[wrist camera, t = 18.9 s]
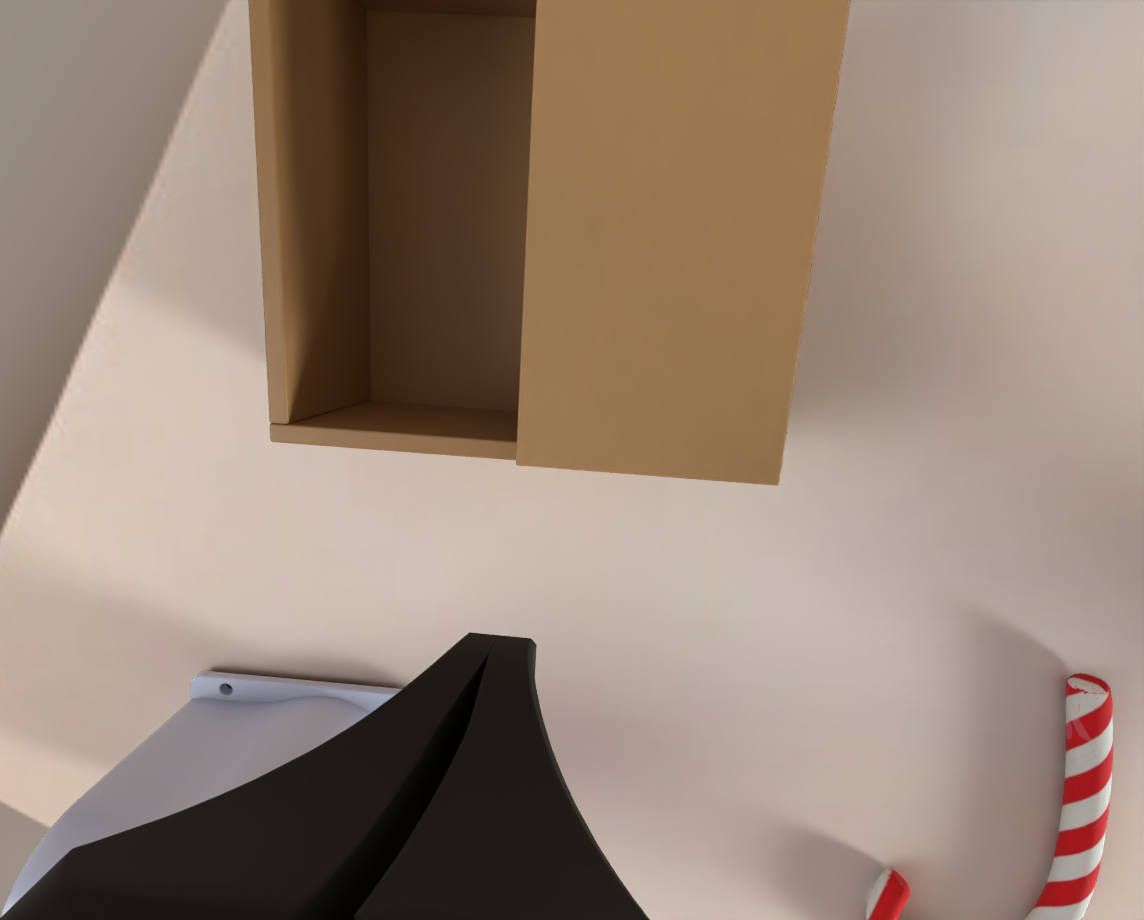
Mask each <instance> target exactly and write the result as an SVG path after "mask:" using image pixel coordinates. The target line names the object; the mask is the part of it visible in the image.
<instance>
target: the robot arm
mask: <svg viewBox="0 0 1144 920" xmlns="http://www.w3.org/2000/svg"><path fill="white" fill-rule="evenodd" d="M535 661H536V644H535V643H534V641H533V640H532V639H530V638H520V637H510V636H499V635H489V634H479V633H468V634H467V635H466V636H465V637H463V638H462V639H461V640H460V641H459V642H457V643H456V644H455V645H454V646H453V647H452V648H451V649H450V650H448V651H447V652H446V653H445V654H444V655H443V656H442V657H440V658H439V659H438V660H437V661H436V662H435V663H434V664H432V665H431V666H430V667H429V668H428V669H427V670H425V671H424V672H423V673H422V674H420V675H419V676H418V677H417V678H416V679H414V680H413V681H412V682H411V683H410V684H408V685H407V686H406V687H405V688H403V689H398V688H387V687H376V686H365V685H354V684H344V683H333V682H322V681H311V680H300V679H289V678H278V677H267V676H256V675H245V674H234V673H223V672H212V671H202V672H200V673H198V674H197V675H196V676H195V677H194V678H193V679H192V680H191V697H192V699H191V700H190V701H189V702H188V703H187V704H185V705H184V706H183V707H182V708H181V709H180V710H179V711H178V712H176V713H175V714H174V715H173V716H172V717H171V718H170V719H169V720H167V721H166V722H165V723H164V724H163V725H162V726H161V727H160V728H158V729H157V730H156V731H155V732H154V733H153V734H152V735H150V736H149V737H148V738H147V739H146V740H145V741H144V742H143V743H141V744H140V745H139V746H138V747H137V748H136V749H135V750H134V751H132V752H131V753H130V754H129V755H128V756H127V757H126V758H125V759H123V760H122V761H121V762H120V763H119V764H118V765H117V766H116V767H114V768H113V769H112V770H111V771H110V772H109V773H108V774H107V775H105V776H104V777H103V778H102V779H101V780H100V781H99V782H97V783H96V784H95V785H94V786H93V787H92V788H91V789H90V790H88V791H87V792H86V793H85V794H84V795H83V796H82V797H81V798H79V799H78V800H77V801H76V802H75V803H74V804H73V805H72V806H71V807H70V808H69V809H68V810H67V811H66V812H65V813H64V814H63V815H62V816H61V817H60V818H59V819H58V820H57V821H56V823H55V824H54V825H53V826H52V827H51V829H50V830H49V831H48V832H47V833H46V835H45V836H44V838H43V839H42V840H41V842H40V843H39V844H38V846H37V847H36V849H35V850H34V852H33V853H32V855H31V856H30V858H29V859H28V861H27V862H26V864H25V866H24V867H23V869H22V871H21V872H20V874H19V876H18V878H17V879H16V882H15V883H14V885H13V887H12V889H11V891H10V894H9V896H8V898H7V901H6V903H5V906H4V908H3V911H2V915H1V918H0V920H650V919H649V918H648V917H647V916H646V914H645V913H644V912H643V910H642V909H641V908H640V906H639V905H638V904H637V902H636V901H635V900H634V898H633V897H632V896H631V894H630V893H629V891H628V890H627V889H626V887H625V886H624V884H623V883H622V881H621V880H620V879H619V877H618V876H617V874H616V873H615V871H614V870H613V868H612V866H611V865H610V863H609V862H608V860H607V859H606V857H605V856H604V854H603V852H602V851H601V849H600V848H599V846H598V844H597V843H596V841H595V839H594V837H593V835H592V833H591V832H590V830H589V828H588V826H587V824H586V823H585V821H584V819H583V817H582V815H581V813H580V812H579V810H578V808H577V806H576V804H575V802H574V800H573V798H572V796H571V794H570V791H569V789H568V787H567V785H566V783H565V781H564V778H563V776H562V773H561V771H560V768H559V766H558V764H557V761H556V758H555V756H554V753H553V750H552V747H551V744H550V741H549V738H548V735H547V731H546V728H545V725H544V721H543V717H542V714H541V710H540V705H539V700H538V695H537V690H536V684H535ZM226 684H229V685H230V686H231V687H232V689H230V688H229V687H228V686H227V685H226Z"/></svg>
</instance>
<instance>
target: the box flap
mask: <svg viewBox="0 0 1144 920" xmlns="http://www.w3.org/2000/svg"><path fill="white" fill-rule="evenodd" d="M850 1H851V0H537V3H536V26H535V48H534V71H533V93H532V115H531V138H530V160H529V183H528V205H527V227H526V250H525V272H524V294H523V317H522V339H521V362H520V384H519V406H518V429H517V451H516V465H519V466H532V467H545V468H558V469H571V470H584V471H597V472H610V473H622V474H635V475H648V476H661V477H674V478H687V479H700V480H712V481H725V482H738V483H751V484H764V485H779V481H780V474H781V467H782V461H783V454H784V447H785V440H786V434H787V427H788V420H789V413H790V406H791V400H792V393H793V386H794V379H795V373H796V366H797V359H798V352H799V346H800V339H801V332H802V325H803V319H804V312H805V305H806V298H807V292H808V285H809V278H810V271H811V265H812V258H813V251H814V244H815V238H816V231H817V224H818V217H819V211H820V204H821V197H822V190H823V184H824V177H825V170H826V163H827V157H828V150H829V143H830V136H831V130H832V123H833V116H834V109H835V103H836V96H837V89H838V82H839V76H840V69H841V62H842V55H843V49H844V42H845V35H846V28H847V22H848V15H849V8H850Z"/></svg>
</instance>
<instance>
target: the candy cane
mask: <svg viewBox="0 0 1144 920" xmlns="http://www.w3.org/2000/svg"><path fill="white" fill-rule="evenodd" d="M1112 760H1113V705H1112V697H1111V691H1110V687H1109V685H1108V684H1107V683H1106V682H1105V681H1104V680H1102V679H1101V678H1099V677H1097V676H1094V675H1091V674H1085V673H1084V674H1082V673H1079V674H1074V675H1072V676H1070V677H1069V679H1068V680H1067V686H1066V765H1065V781H1064V792H1063V802H1062V811H1061V819H1060V827H1059V833H1058V839H1057V845H1056V850H1055V855H1054V860H1053V864H1052V868H1051V871H1050V874H1049V877H1048V880H1047V882H1046V885H1045V887H1044V889H1043V891H1042V894H1041V896H1040V897H1039V899H1038V901H1037V903H1036V904H1035V906H1034V907H1033V909H1032V910H1031V912H1030V913H1029V915H1028V916H1027V917H1026V918H1025V919H1024V920H1081V919H1082V918H1083V916H1084V914H1085V911H1086V909H1087V907H1088V905H1089V902H1090V899H1091V897H1092V894H1093V891H1094V887H1095V884H1096V881H1097V877H1098V873H1099V868H1100V863H1101V858H1102V852H1103V847H1104V841H1105V834H1106V827H1107V819H1108V811H1109V802H1110V792H1111V779H1112ZM909 896H910V888H909V886H908V884H907V883H906V881H905V880H904V879H903V878H902V876H901V875H899V874H898V873H897V872H896V871H894V870H893V869H889V868H887V869H885V870H884V871H883V872H882V873H881V874H880V876H879V877H878V879H877V880H876V882H875V884H874V886H873V888H872V891H871V894H870V896H869V900H868V903H867V909H866V920H898V919H899V915H900V913H901V911H902V909H903V907H904V905H905V904H906V902H907V900H908V899H909Z"/></svg>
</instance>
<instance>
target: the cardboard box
mask: <svg viewBox="0 0 1144 920" xmlns="http://www.w3.org/2000/svg"><path fill="white" fill-rule="evenodd" d="M536 3H537V0H249V20H250V40H251V60H252V80H253V100H254V119H255V139H256V159H257V179H258V199H259V219H260V239H261V259H262V279H263V299H264V318H265V338H266V358H267V378H268V398H269V418H270V422H271V424H270V438H271V441H272V442H280V443H293V444H307V445H320V446H333V447H347V448H360V449H373V450H386V451H400V452H413V453H426V454H440V455H453V456H466V457H479V458H493V459H506V460H516V451H517V429H518V406H519V384H520V362H521V339H522V317H523V294H524V272H525V250H526V227H527V205H528V183H529V160H530V138H531V115H532V93H533V71H534V48H535V26H536Z"/></svg>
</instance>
